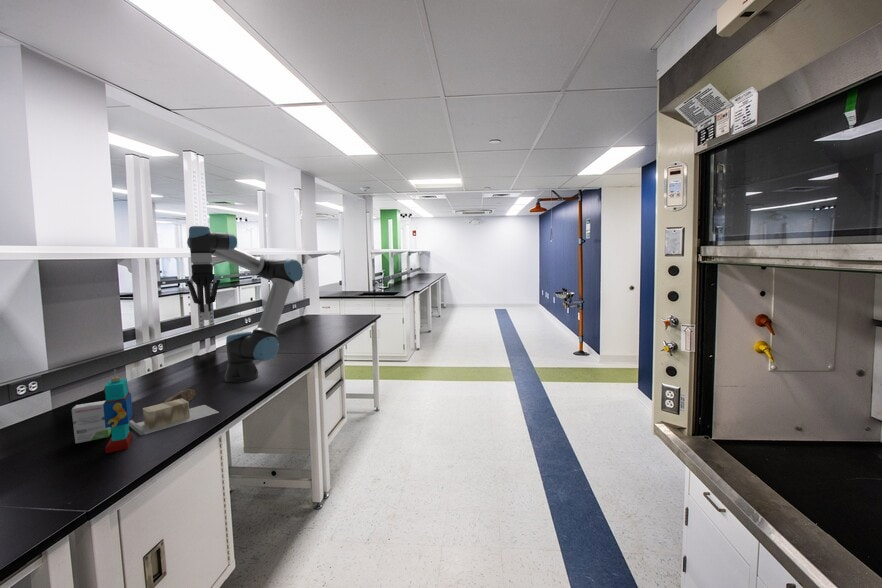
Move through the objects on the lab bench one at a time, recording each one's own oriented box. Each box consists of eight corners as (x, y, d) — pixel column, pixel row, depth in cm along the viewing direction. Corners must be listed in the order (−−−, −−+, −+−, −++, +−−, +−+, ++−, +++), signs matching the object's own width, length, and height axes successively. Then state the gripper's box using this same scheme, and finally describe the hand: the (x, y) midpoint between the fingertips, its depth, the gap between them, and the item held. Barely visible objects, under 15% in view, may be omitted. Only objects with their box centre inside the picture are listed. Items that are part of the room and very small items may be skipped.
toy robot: (112, 441, 129) (105, 366, 127) (135, 436, 132) (129, 364, 130) (104, 455, 119) (96, 375, 117) (129, 450, 122) (122, 372, 120)
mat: (204, 405, 160) (204, 400, 160) (219, 413, 152) (219, 408, 151) (128, 426, 141) (128, 420, 141) (140, 436, 132) (140, 430, 132)
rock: (186, 407, 159) (185, 394, 158) (156, 411, 156) (155, 397, 155) (196, 395, 173) (195, 383, 173) (169, 398, 170) (168, 385, 169)
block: (181, 398, 151) (142, 408, 141) (188, 402, 146) (149, 412, 137) (182, 413, 151) (144, 424, 141) (189, 417, 147) (150, 429, 137)
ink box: (111, 432, 136) (108, 399, 135) (108, 437, 132) (105, 403, 131) (78, 438, 132) (75, 404, 131) (74, 444, 127) (70, 409, 126)
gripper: (214, 263, 170) (218, 317, 172) (180, 264, 160) (185, 321, 162) (222, 263, 166) (226, 318, 168) (187, 263, 156) (192, 322, 158)
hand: (206, 319), depth 165 cm, fingers closed
